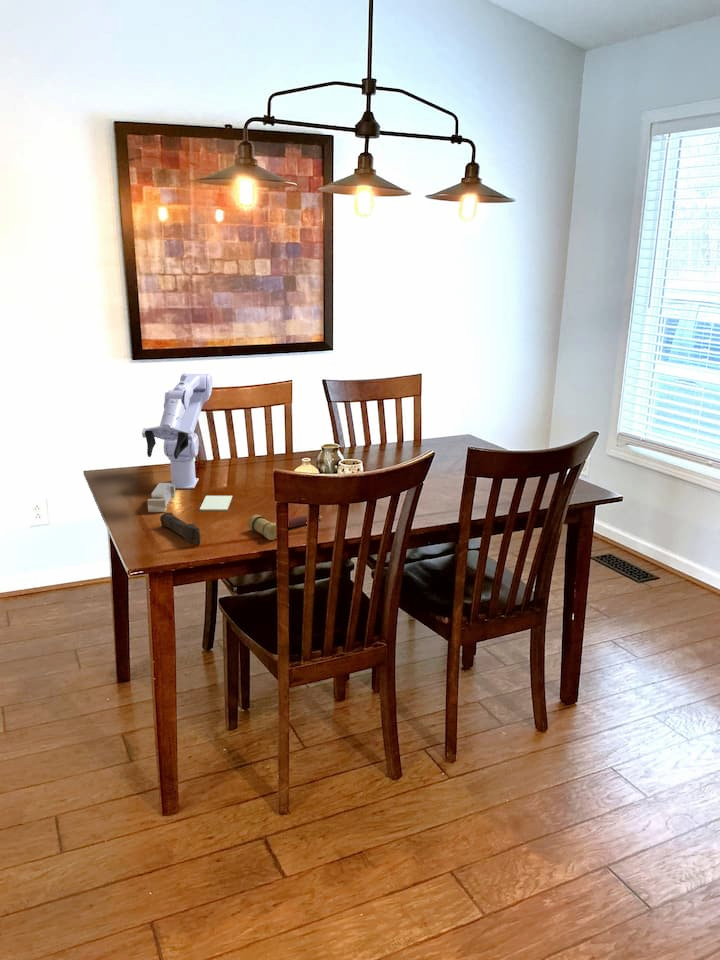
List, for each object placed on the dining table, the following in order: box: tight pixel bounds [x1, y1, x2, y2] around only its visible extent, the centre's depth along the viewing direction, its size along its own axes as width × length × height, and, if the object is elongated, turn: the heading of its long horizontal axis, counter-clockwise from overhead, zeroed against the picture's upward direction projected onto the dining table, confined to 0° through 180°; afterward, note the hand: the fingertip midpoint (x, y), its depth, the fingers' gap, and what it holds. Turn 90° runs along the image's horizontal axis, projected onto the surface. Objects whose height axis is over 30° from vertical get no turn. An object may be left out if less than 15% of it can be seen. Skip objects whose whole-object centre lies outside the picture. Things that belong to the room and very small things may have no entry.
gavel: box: [247, 514, 323, 541], centre depth 213 cm, size 21×5×10 cm
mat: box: [199, 495, 233, 511], centre depth 231 cm, size 12×8×1 cm, turn 2°
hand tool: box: [159, 512, 201, 546], centre depth 207 cm, size 19×4×5 cm, turn 37°
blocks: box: [146, 485, 177, 513], centre depth 232 cm, size 17×5×4 cm, turn 2°
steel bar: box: [151, 482, 173, 506], centre depth 230 cm, size 10×4×5 cm, turn 2°
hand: (162, 455), depth 223 cm, fingers open, 7 cm apart
